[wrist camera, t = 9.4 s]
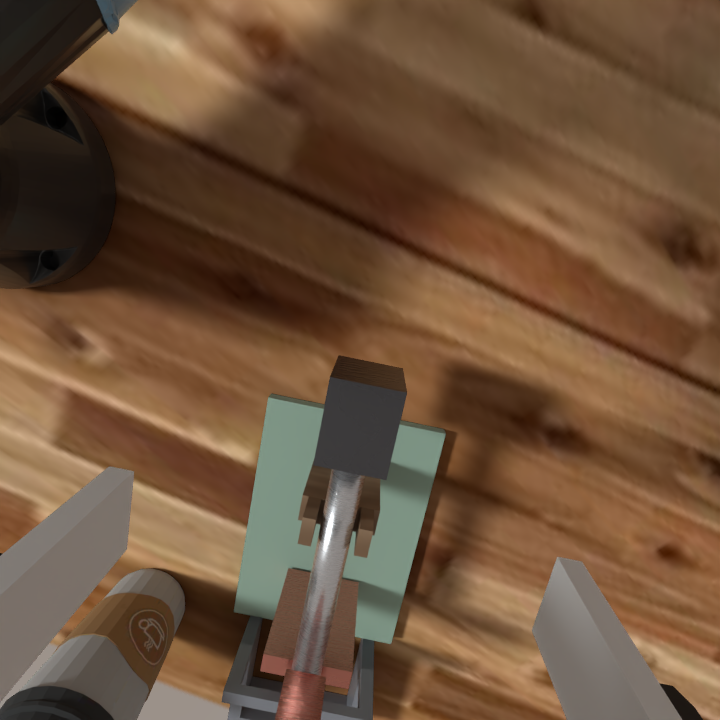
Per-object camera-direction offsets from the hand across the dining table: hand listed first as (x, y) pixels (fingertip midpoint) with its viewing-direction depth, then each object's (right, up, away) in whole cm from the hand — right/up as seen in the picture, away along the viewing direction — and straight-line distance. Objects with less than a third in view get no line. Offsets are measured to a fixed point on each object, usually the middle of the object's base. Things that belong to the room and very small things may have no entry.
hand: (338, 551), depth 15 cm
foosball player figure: (0, -2, +24) cm, 24 cm away
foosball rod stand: (-1, -3, +23) cm, 23 cm away
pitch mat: (-1, -8, +26) cm, 27 cm away
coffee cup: (-18, -15, +28) cm, 37 cm away
